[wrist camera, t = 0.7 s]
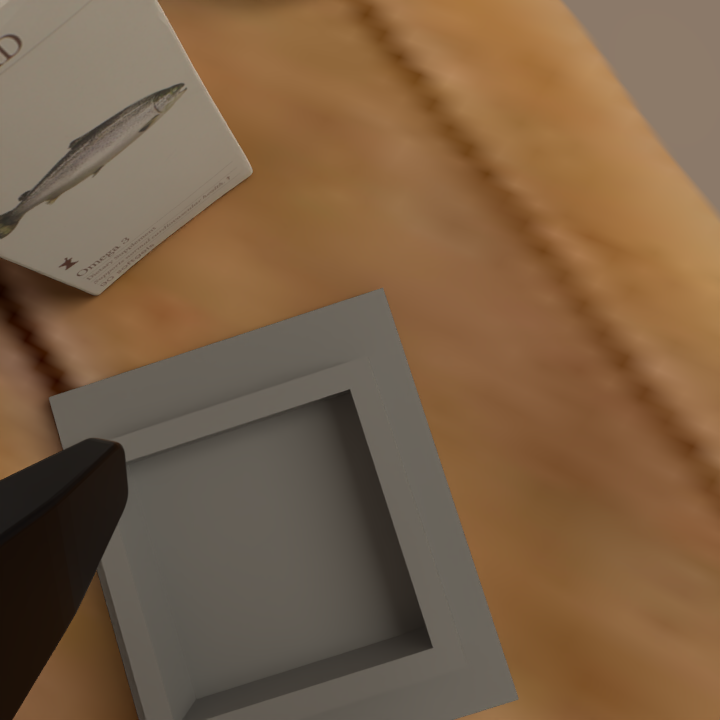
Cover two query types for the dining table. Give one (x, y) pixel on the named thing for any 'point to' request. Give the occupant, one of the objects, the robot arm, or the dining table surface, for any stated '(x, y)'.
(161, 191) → the supplement box
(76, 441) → the tray
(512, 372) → the dining table surface
